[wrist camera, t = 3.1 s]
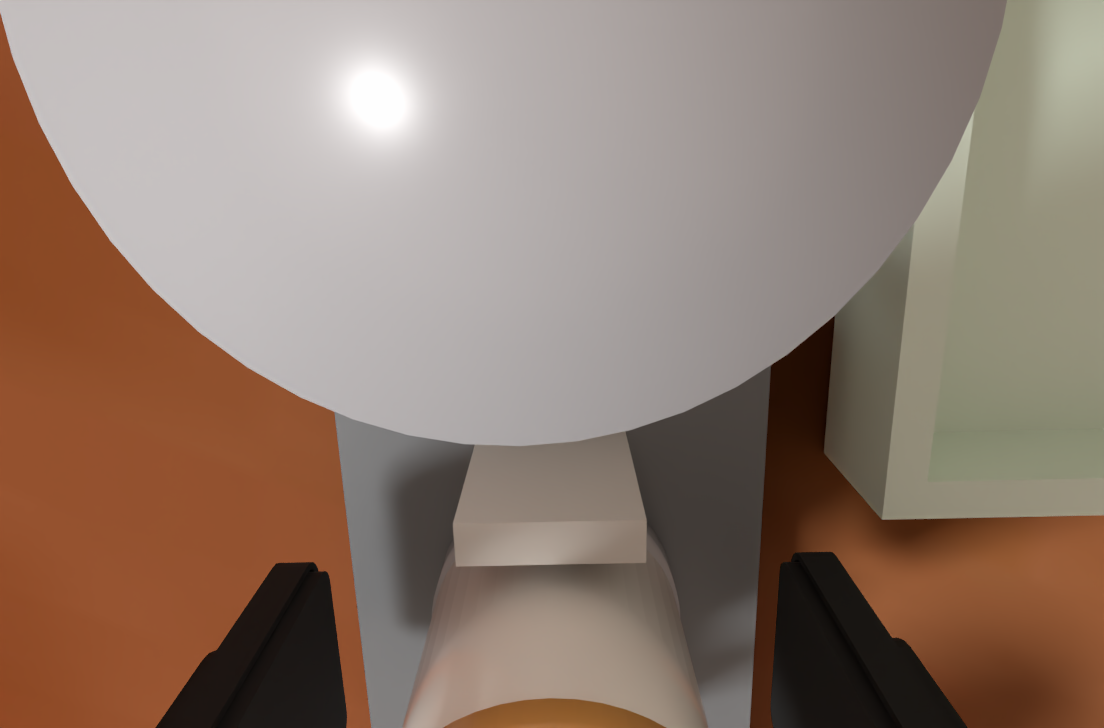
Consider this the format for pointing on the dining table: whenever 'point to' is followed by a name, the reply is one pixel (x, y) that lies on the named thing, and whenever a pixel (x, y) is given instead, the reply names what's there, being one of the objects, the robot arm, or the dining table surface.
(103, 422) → the dining table surface
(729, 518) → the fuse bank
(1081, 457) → the tray
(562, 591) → the cylinder
